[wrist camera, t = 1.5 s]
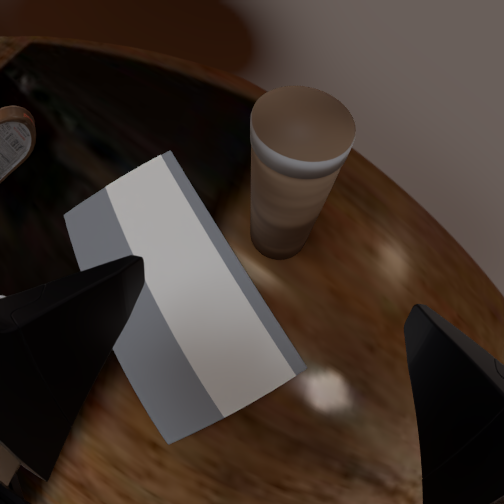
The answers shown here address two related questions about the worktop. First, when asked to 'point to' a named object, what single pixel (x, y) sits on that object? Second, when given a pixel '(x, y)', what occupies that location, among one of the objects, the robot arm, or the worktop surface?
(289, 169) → the beige tapered cylinder
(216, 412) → the slate-grey panel
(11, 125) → the tin
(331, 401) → the worktop surface
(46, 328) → the robot arm
